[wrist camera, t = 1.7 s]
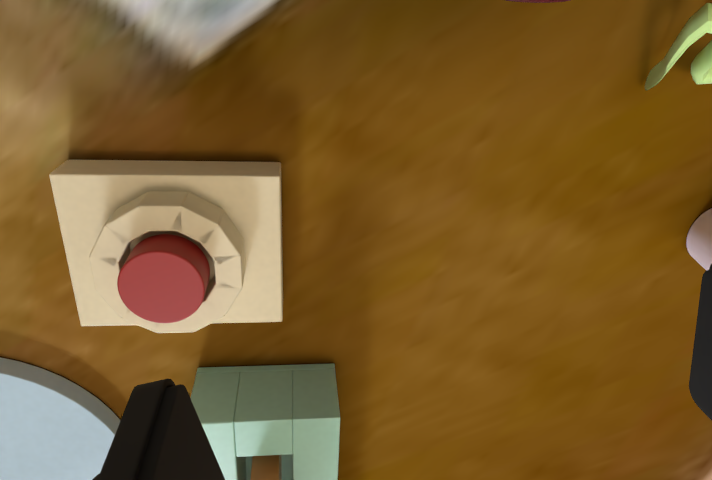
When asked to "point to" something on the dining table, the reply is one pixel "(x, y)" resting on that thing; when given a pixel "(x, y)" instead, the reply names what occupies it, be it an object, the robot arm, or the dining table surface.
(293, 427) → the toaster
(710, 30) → the figurine
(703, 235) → the smoothie
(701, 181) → the dining table surface
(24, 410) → the plate
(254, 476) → the copper rectangular plank
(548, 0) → the mug
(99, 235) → the control block
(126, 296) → the stop button
